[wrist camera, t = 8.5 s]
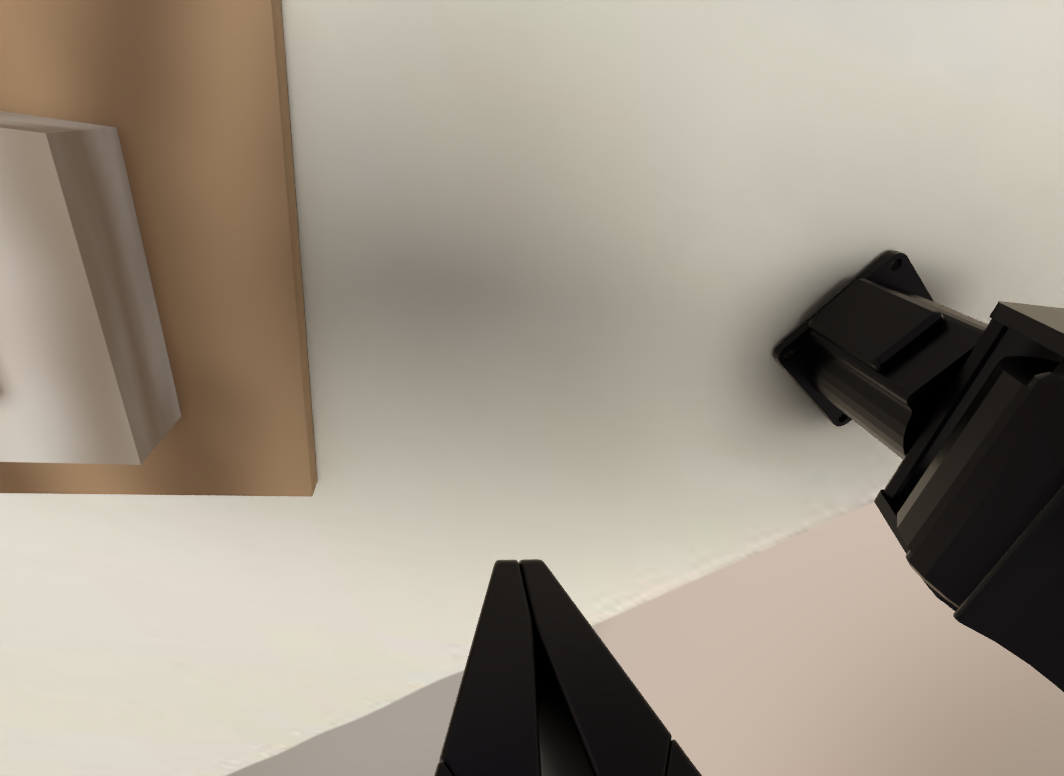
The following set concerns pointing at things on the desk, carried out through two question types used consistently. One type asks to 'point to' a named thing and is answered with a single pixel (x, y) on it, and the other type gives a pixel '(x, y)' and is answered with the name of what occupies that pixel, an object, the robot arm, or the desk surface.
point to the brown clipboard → (150, 252)
